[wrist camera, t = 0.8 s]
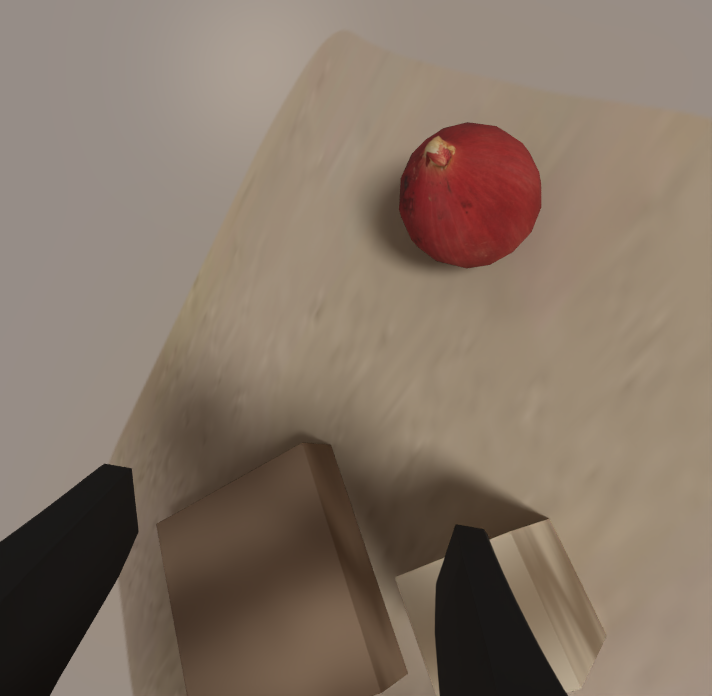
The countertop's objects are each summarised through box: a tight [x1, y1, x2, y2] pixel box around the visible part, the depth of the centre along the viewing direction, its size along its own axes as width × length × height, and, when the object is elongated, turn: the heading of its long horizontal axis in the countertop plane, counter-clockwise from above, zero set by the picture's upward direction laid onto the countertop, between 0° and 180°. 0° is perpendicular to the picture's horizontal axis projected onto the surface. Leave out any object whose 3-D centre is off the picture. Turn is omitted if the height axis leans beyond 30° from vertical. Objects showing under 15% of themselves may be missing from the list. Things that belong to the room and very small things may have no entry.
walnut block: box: [156, 443, 408, 696], centre depth 27 cm, size 11×11×3 cm
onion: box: [399, 122, 541, 268], centre depth 22 cm, size 6×6×8 cm
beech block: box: [395, 519, 607, 696], centre depth 19 cm, size 4×4×6 cm
